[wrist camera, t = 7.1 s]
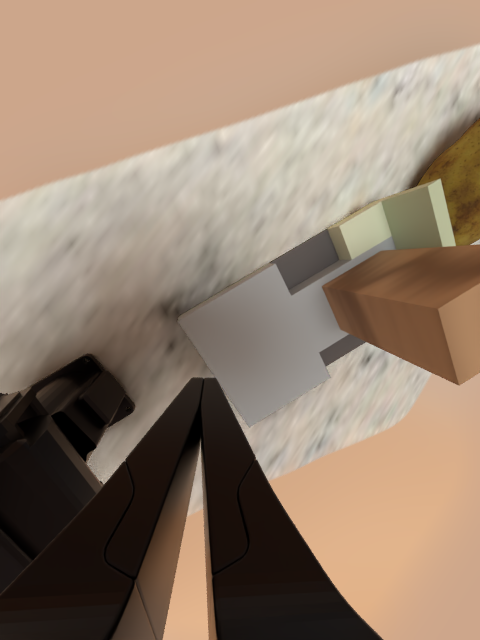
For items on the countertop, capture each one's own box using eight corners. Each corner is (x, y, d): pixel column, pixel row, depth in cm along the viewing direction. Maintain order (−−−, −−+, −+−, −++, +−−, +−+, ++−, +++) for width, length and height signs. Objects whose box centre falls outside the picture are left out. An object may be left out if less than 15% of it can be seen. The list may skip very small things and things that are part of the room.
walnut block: (340, 329, 21) (459, 385, 12) (321, 286, 20) (437, 308, 10) (396, 295, 21) (558, 323, 12) (381, 250, 20) (550, 240, 10)
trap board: (245, 414, 24) (260, 462, 18) (179, 315, 20) (172, 337, 15) (409, 313, 24) (475, 329, 19) (373, 201, 21) (440, 178, 15)
